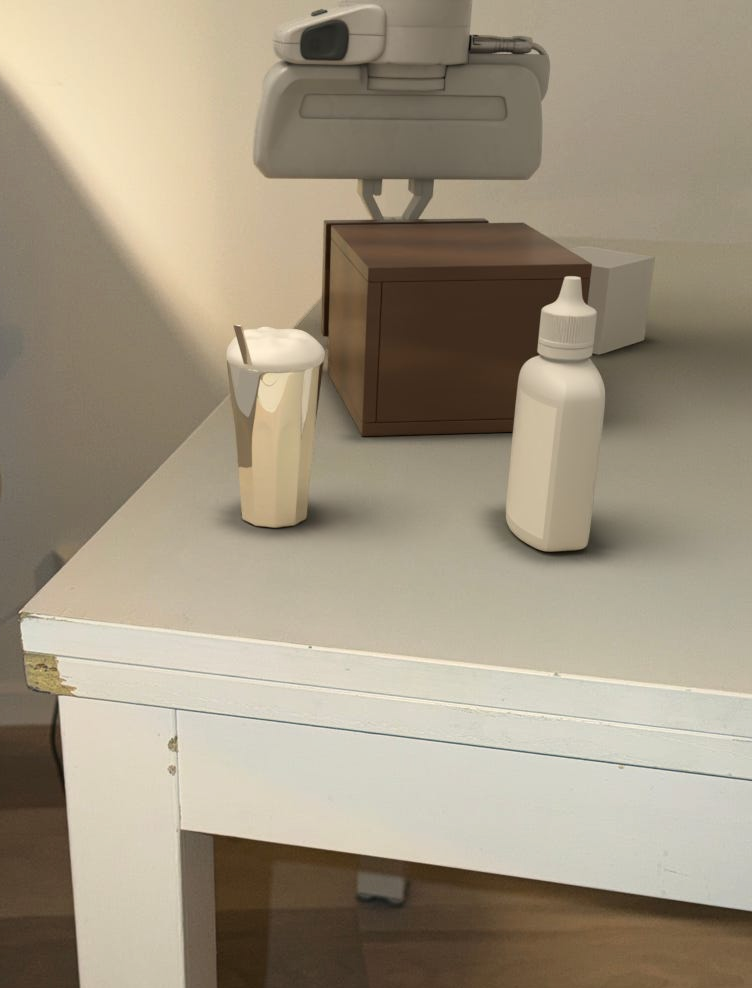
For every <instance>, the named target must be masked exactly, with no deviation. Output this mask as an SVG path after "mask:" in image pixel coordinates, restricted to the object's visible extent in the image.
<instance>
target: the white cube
mask: <svg viewBox="0 0 752 988" xmlns="http://www.w3.org/2000/svg"><path fill="white" fill-rule="evenodd" d="M567 249H568V250H570V251H572V252H573V253H575V254H577V255H578V256H580V257H582V258H583V259H585V260H586V261H588V262H590V263H591V264H592V271H591V278H590V288H589V297H588V306H590V307H592V308H594V309H595V310H596V312H597V318H596V326H595V335H594V343H593V352H592V355H593V354H594V355H598V356H600V355H603V354H606V353H609V352H612V351H615V350H618V349H621V348H624V347H628V346H631V345H633V344H637V343H640V342H643V341H645V336H646V327H647V321H648V314H649V307H650V306H649V305H650V297H651V293H652V292H651V290H652V282H653V276H654V269H655V263H656V262H655V261H656V256H652V255H644V254H639V253H632V252H625V251H619V250H613V249H608V248H607V249H606V248H601V247H595V246H588V245H581V246H576V247H571V248H567Z"/></svg>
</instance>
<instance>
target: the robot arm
mask: <svg viewBox="0 0 752 988" xmlns="http://www.w3.org/2000/svg"><path fill="white" fill-rule="evenodd" d="M472 10H473V0H339V1H338V3H337V5H334V6H332V7H329V8H326V9H323V8H320V9H318V10H314V11H312V12H311V13H310V14H307V15H304V16H302V17H297V18H295V19H292V20H288V21H286V22H283V23H281V24H279V25H277V26H276V27H275V29H274V30H273V33H272V50H273V54H274V56H276V57H277V58H278V59H280V61H278V62H275V63H274V64H272V65H271V66H270V67H269V68H268V69H267V71H266V73H265V74H264V76H263V77H262V80H261V83H260V87H259V91H258V96H257V102H256V108H255V113H254V121H253V122H254V123H253V133H252V157H251V158H252V163H253V165H254V167H255V168H256V170H257V171H258V172H259V173H260V174H261V175H262V176H263V177H264V178H265V179H269V180H271V179H276V180H277V179H278V180H279V179H280V180H285V179H286V180H357V185H356V186H357V190H356V192H357V194H358V196H359V198H360V200H361V202H362V204H363V206H364V208H365V211H366V212H367V215H368V216H369V218H370V220H384V219H420V217H421V216H422V214H423V213H424V211H425V209H426V208H427V206H428V205H429V203H430V201H431V200H432V199H433V197H434V184H435V180H440V181H442V180H443V181H444V180H446V181H447V180H452V181H454V180H455V181H456V180H459V181H464V180H465V181H528V180H530V179H531V177H532V176H533V175H534V174H535V173H536V172H537V170H538V169H539V168H540V166H541V163H542V155H543V154H542V152H543V108H542V105H543V104H542V101H543V100H544V99H545V97H546V95H547V92H548V89H549V84H550V83H549V82H550V73H551V60H550V57H549V54H548V52H547V51H546V49H545V48H544V47H543V46H542V45H540V44H538V43H536V42H534V41H533V38H532V37H530V36H527V35H512V36H498V35H491V34H471V22H472ZM532 50H533V51H536V52H537V53H531V52H532ZM383 180H408V181H407V182H408V183H407V184H408V185H407V191H409V192H410V193H411V194H412V195H413V196H412V198H411V200H410V201H409V203H408V205H407V206H406V208H405V210H404V211H403V213H402V215H401V216H383V213H382V211H381V210H380V207H379V205H378V203H377V201H376V199H375V197H374V196H376V197H377V196H378V197H380V196H381V195H382V194H383V193H382V192H383V191H382V190H383Z"/></svg>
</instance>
